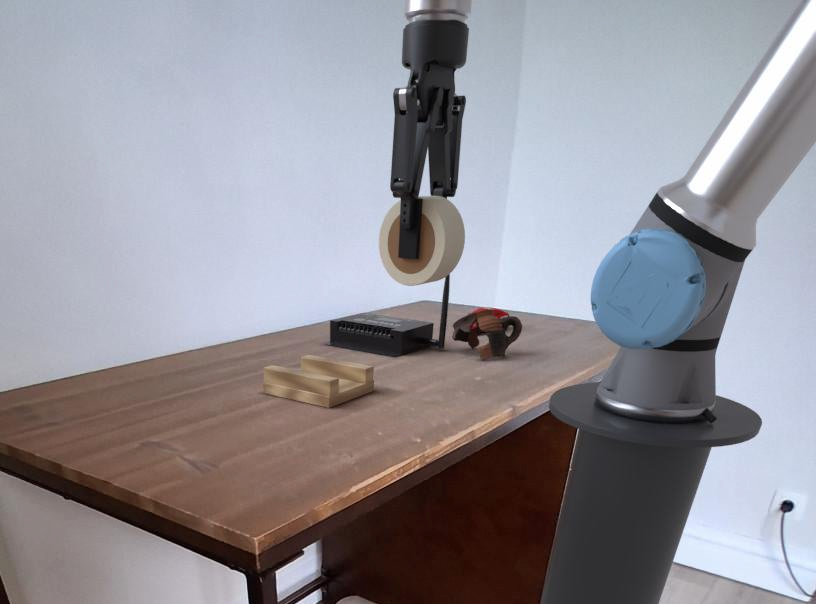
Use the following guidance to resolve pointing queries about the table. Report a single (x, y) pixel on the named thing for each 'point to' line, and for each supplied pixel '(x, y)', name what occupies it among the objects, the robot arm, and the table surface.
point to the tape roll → (424, 242)
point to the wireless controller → (388, 332)
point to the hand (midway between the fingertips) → (420, 255)
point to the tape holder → (319, 381)
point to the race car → (497, 313)
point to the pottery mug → (487, 332)
